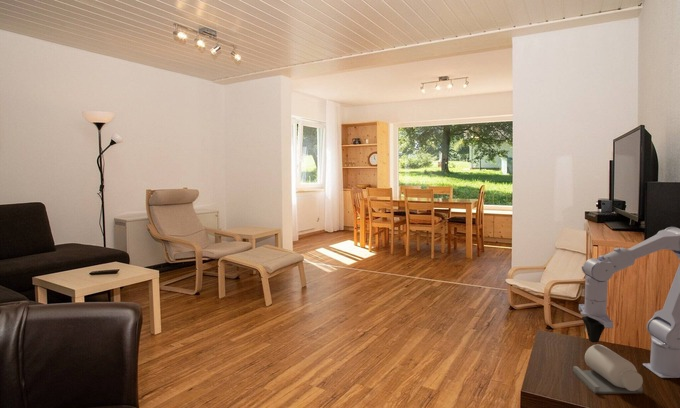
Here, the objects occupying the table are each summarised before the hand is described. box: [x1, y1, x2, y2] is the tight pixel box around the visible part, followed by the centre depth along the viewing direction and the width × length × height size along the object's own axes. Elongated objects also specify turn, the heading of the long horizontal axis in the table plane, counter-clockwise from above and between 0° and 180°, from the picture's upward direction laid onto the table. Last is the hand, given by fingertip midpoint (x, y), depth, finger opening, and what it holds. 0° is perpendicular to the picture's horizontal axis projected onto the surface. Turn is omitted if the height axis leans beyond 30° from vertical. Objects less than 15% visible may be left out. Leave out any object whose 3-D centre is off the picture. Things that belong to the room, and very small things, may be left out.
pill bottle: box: [584, 343, 644, 391], centre depth 120 cm, size 8×8×15 cm
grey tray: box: [572, 365, 643, 395], centre depth 121 cm, size 13×12×2 cm
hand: (593, 341), depth 126 cm, fingers closed
